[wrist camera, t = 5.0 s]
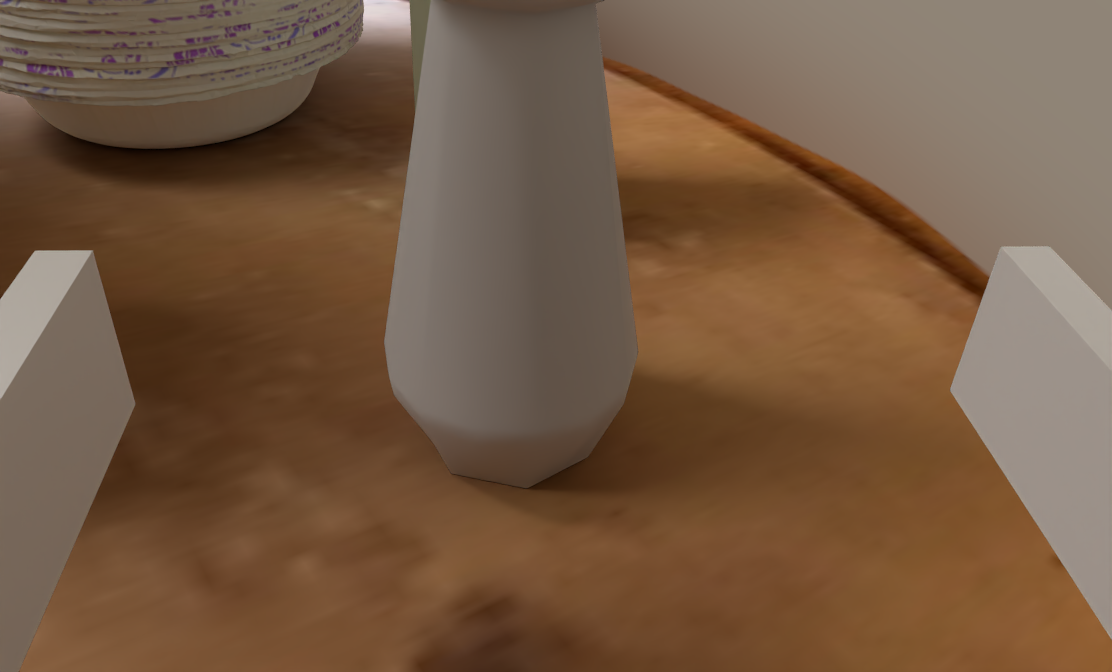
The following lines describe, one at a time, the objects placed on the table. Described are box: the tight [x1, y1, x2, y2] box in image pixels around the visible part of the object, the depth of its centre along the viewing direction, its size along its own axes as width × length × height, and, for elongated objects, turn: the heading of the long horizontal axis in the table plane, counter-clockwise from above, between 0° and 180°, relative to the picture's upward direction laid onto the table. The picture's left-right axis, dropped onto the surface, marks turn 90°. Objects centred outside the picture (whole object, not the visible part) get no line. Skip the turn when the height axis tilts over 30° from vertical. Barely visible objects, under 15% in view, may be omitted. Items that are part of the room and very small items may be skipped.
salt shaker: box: [384, 0, 638, 489], centre depth 20 cm, size 6×6×13 cm
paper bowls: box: [0, 0, 364, 149], centre depth 37 cm, size 15×15×8 cm
